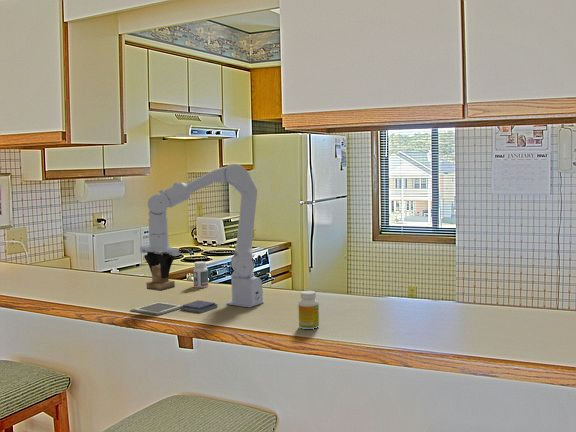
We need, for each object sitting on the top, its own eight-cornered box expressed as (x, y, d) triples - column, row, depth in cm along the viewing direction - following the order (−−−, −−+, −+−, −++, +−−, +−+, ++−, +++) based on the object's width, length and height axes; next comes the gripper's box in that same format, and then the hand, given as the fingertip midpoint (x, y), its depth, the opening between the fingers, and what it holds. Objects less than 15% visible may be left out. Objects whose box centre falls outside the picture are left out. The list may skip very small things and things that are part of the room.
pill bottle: (209, 285, 231) (209, 261, 230) (206, 288, 226) (205, 263, 225) (195, 285, 232) (194, 261, 231) (192, 288, 227) (191, 263, 226)
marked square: (185, 307, 198) (185, 305, 198) (158, 315, 188) (158, 313, 188) (158, 303, 204) (158, 301, 204) (130, 311, 194) (130, 309, 194)
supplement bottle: (317, 330, 168) (316, 294, 167) (297, 330, 169) (296, 294, 168) (320, 325, 173) (319, 290, 172) (300, 324, 174) (299, 289, 173)
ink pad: (217, 307, 196) (217, 302, 196) (200, 313, 190) (200, 308, 190) (198, 304, 201) (197, 299, 201) (180, 310, 194) (180, 305, 194)
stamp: (174, 287, 196) (173, 265, 195) (160, 291, 191) (159, 268, 190) (160, 285, 199) (159, 263, 199) (146, 289, 194) (145, 266, 194)
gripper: (132, 233, 194) (134, 277, 196) (166, 236, 186) (168, 281, 188) (149, 231, 200) (150, 273, 201) (183, 233, 192) (184, 277, 193)
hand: (160, 277), depth 195 cm, fingers closed on stamp, 3 cm apart
